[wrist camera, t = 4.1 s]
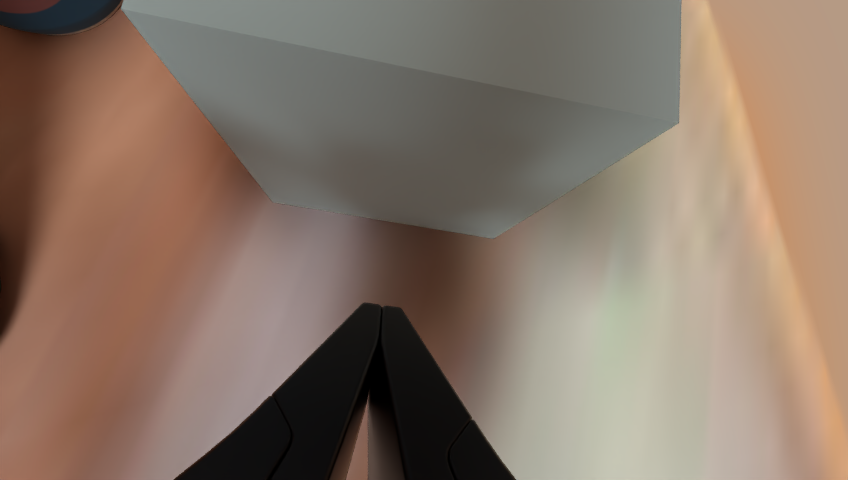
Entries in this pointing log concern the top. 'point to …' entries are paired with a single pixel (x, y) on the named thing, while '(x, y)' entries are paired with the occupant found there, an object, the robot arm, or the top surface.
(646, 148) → the top surface
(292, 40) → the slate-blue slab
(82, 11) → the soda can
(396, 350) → the robot arm
